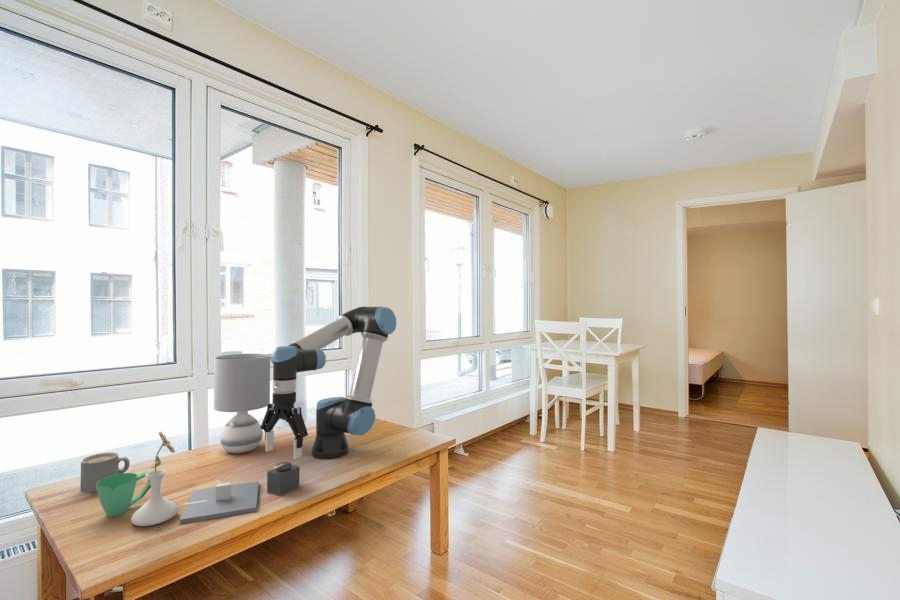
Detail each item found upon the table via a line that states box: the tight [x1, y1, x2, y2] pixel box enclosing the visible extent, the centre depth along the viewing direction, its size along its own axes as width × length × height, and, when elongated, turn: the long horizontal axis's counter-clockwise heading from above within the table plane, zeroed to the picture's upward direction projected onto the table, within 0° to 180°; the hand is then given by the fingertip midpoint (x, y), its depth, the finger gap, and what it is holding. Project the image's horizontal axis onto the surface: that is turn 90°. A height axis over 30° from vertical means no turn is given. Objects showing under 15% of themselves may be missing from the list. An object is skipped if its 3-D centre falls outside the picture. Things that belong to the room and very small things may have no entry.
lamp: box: [213, 353, 271, 454], centre depth 180 cm, size 22×22×40 cm
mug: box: [96, 471, 151, 517], centre depth 129 cm, size 15×10×10 cm
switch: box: [179, 480, 260, 525], centre depth 133 cm, size 20×20×6 cm
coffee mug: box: [80, 451, 131, 494], centre depth 145 cm, size 13×10×10 cm
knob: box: [266, 461, 301, 497], centre depth 143 cm, size 8×6×9 cm
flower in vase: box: [130, 430, 179, 527], centre depth 123 cm, size 13×11×25 cm
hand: (283, 453), depth 143 cm, fingers open, 13 cm apart
